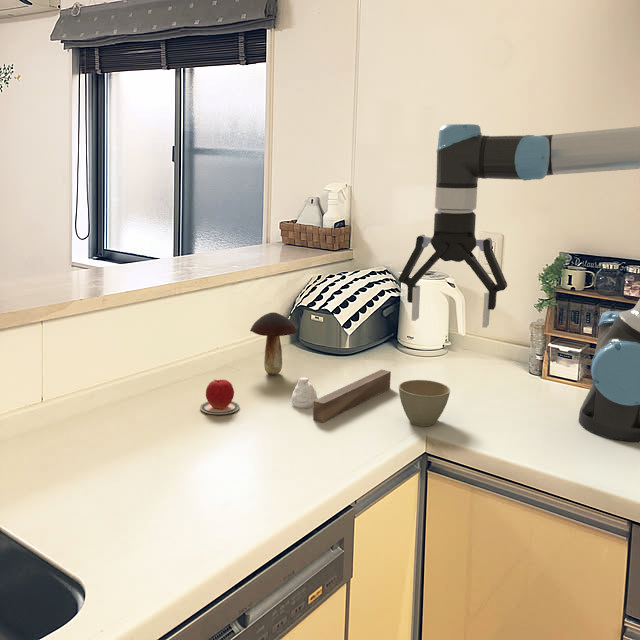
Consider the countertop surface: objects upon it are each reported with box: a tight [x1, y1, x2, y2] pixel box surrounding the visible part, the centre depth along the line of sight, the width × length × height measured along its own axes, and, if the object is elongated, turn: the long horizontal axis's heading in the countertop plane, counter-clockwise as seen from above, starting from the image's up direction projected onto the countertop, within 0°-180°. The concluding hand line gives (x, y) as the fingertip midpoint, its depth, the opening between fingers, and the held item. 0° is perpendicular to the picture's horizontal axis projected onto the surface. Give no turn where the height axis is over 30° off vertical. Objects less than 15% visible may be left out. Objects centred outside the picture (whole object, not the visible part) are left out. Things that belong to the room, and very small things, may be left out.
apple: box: [199, 379, 240, 415], centre depth 144 cm, size 8×8×6 cm
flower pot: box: [398, 379, 451, 427], centre depth 139 cm, size 10×10×7 cm
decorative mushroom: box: [249, 312, 298, 376], centre depth 165 cm, size 11×11×15 cm
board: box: [312, 369, 392, 424], centre depth 149 cm, size 2×26×4 cm, turn 145°
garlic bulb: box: [291, 377, 319, 409], centre depth 148 cm, size 6×6×5 cm
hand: (449, 322), depth 135 cm, fingers open, 13 cm apart
